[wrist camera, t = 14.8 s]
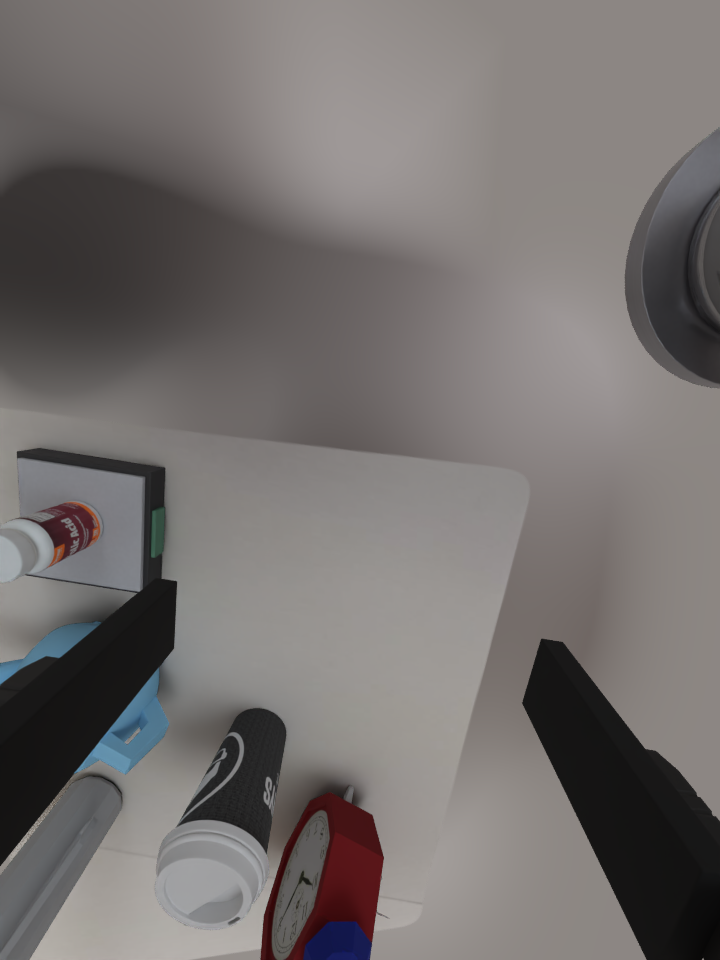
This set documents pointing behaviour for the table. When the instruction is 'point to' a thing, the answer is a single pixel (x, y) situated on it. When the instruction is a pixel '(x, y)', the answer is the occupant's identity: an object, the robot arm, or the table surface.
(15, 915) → the water bottle
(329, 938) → the alarm clock
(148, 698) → the teapot
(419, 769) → the table surface
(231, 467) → the table surface
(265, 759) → the coffee cup
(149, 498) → the scale
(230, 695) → the table surface
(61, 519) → the pill bottle
